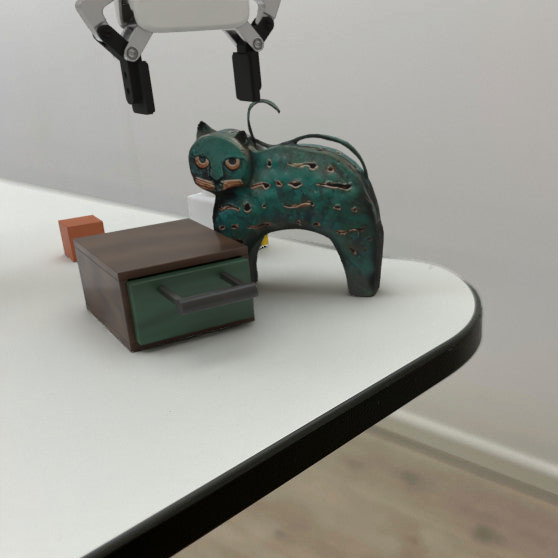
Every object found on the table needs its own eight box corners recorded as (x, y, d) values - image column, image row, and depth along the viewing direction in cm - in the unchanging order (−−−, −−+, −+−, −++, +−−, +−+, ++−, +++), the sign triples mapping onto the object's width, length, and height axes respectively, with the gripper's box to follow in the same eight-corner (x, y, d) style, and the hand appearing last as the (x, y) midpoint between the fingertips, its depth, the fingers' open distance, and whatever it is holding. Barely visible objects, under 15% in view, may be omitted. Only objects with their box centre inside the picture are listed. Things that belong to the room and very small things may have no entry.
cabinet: (255, 320, 76) (247, 246, 73) (131, 352, 70) (117, 273, 67) (197, 283, 87) (189, 217, 84) (86, 308, 81) (72, 238, 78)
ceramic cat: (201, 292, 84) (176, 102, 76) (225, 274, 90) (205, 95, 82) (376, 302, 79) (370, 100, 71) (390, 282, 85) (386, 92, 77)
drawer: (284, 335, 70) (279, 275, 67) (165, 369, 64) (155, 304, 62) (199, 282, 85) (193, 230, 82) (97, 305, 79) (86, 250, 77)
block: (73, 262, 97) (66, 227, 95) (64, 254, 100) (57, 220, 99) (109, 255, 99) (102, 221, 97) (98, 247, 103) (92, 214, 101)
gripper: (244, -118, 65) (264, 94, 72) (35, -129, 56) (82, 115, 63) (291, -133, 59) (308, 99, 66) (68, -149, 50) (115, 122, 57)
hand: (198, 106), depth 65 cm, fingers open, 9 cm apart
